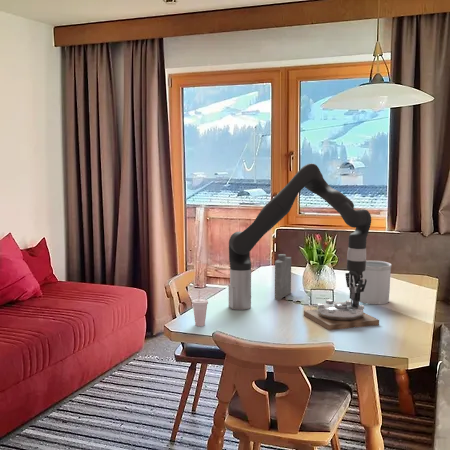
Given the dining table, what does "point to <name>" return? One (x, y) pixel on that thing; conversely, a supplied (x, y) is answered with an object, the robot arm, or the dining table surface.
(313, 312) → the brown wooden board
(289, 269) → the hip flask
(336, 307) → the silver round piece
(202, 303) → the smoothie
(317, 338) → the dining table surface
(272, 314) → the dining table surface
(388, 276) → the utensil holder
